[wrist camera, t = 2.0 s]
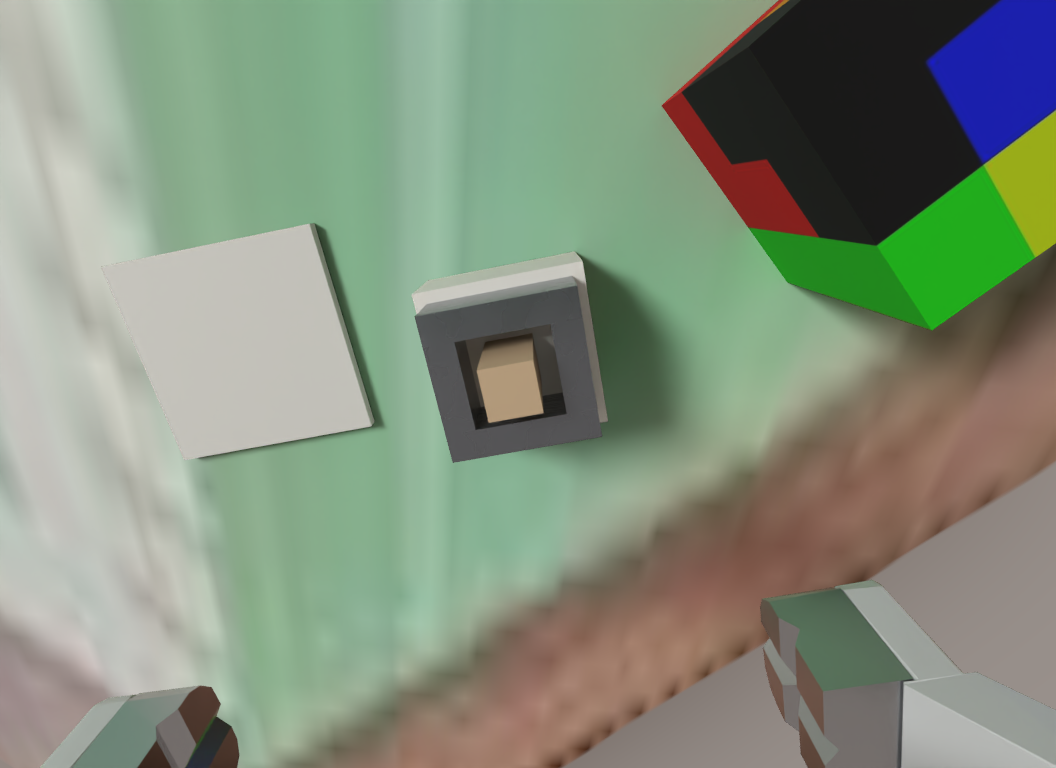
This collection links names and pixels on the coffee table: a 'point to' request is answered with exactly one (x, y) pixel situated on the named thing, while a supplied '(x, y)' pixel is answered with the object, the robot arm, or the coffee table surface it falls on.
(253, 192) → the coffee table surface
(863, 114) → the puzzle toy
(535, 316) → the ring
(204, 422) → the coaster
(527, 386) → the peg stand
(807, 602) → the robot arm
